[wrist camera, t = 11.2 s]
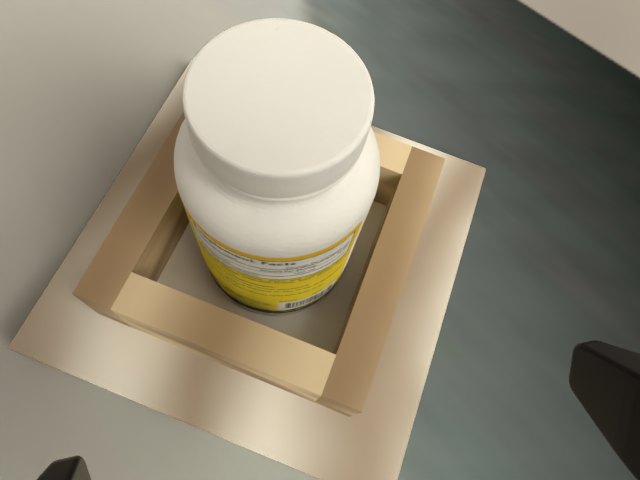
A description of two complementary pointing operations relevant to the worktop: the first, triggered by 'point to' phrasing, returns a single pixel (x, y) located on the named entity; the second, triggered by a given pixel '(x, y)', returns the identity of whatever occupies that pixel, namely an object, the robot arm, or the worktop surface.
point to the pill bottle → (277, 161)
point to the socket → (257, 329)
